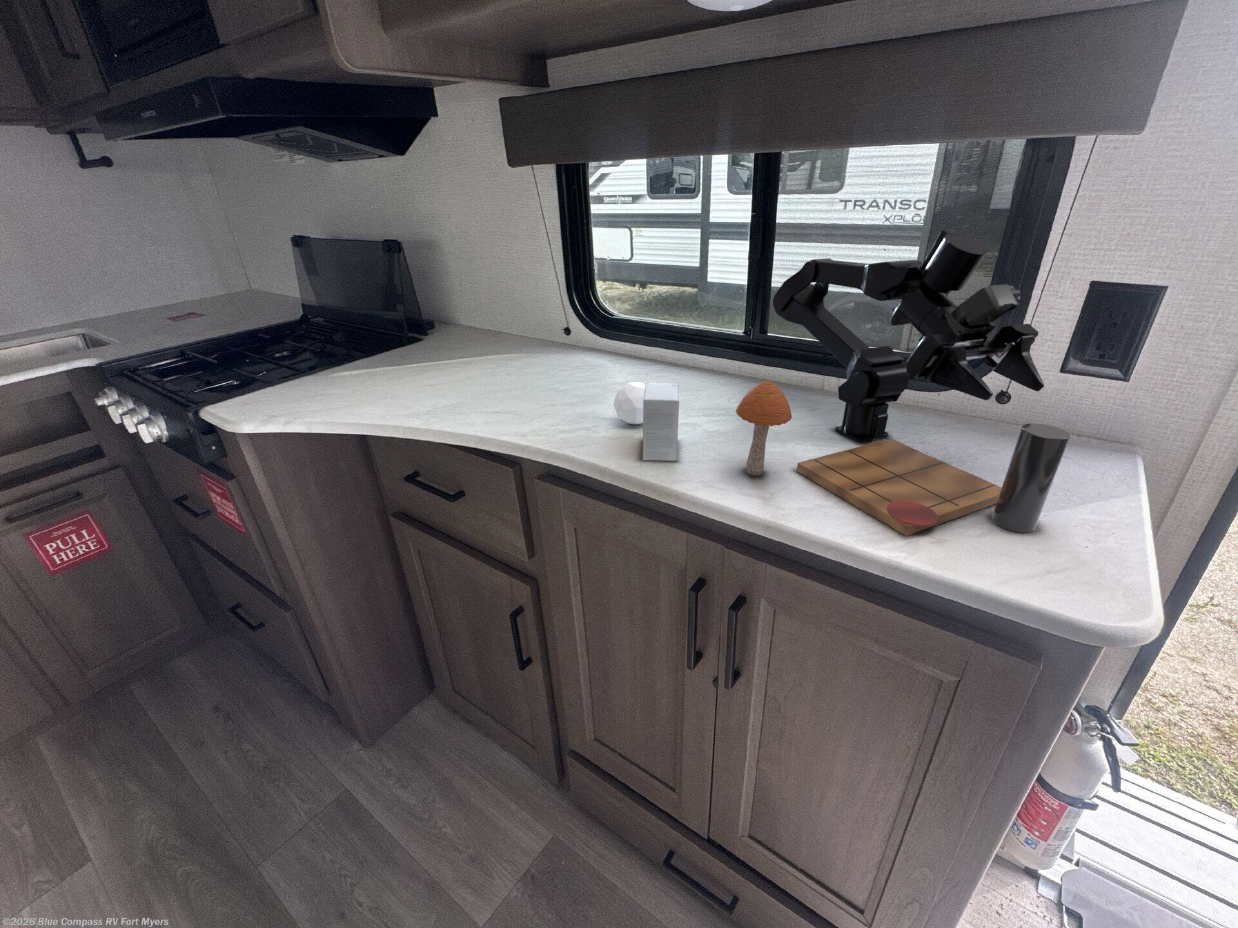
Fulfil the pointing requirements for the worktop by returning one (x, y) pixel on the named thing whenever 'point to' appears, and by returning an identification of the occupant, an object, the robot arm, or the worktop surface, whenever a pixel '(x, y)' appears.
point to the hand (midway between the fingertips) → (1016, 393)
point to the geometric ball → (630, 403)
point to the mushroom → (762, 419)
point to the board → (900, 485)
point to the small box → (660, 421)
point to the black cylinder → (1030, 477)
